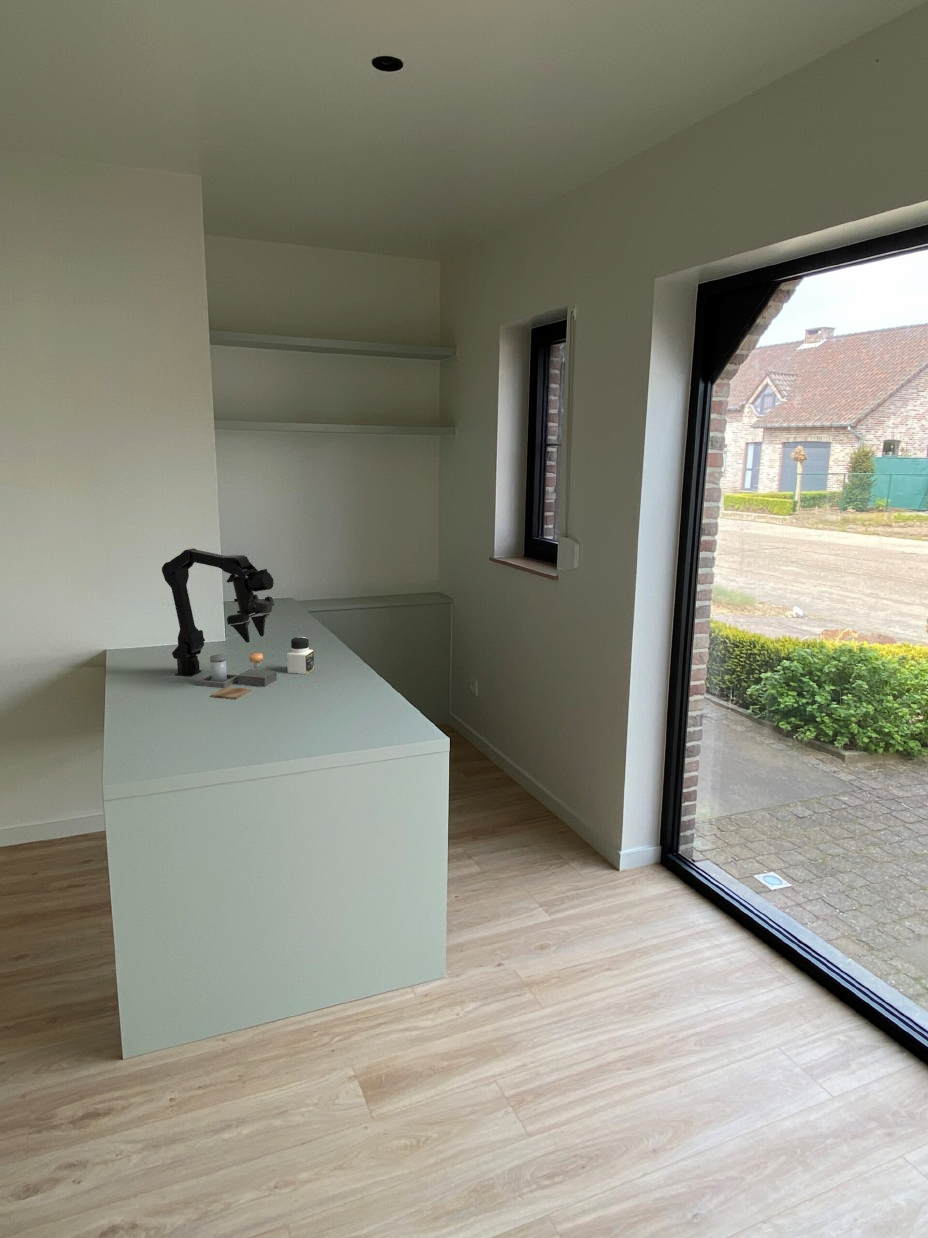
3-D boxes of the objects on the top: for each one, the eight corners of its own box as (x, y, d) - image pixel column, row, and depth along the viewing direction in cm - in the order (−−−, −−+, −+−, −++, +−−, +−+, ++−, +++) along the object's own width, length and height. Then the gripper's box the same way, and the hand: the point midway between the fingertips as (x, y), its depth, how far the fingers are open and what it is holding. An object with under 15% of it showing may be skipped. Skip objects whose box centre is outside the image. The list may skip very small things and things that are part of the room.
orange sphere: (247, 668, 266) (246, 655, 265) (254, 665, 270) (253, 652, 269) (259, 669, 265) (258, 656, 264) (266, 666, 269) (265, 653, 268)
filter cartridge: (208, 683, 266) (207, 657, 264) (217, 679, 271) (215, 653, 269) (222, 685, 265) (220, 658, 263) (230, 680, 270) (228, 655, 268)
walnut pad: (210, 696, 253) (210, 694, 253) (226, 688, 261) (226, 686, 261) (236, 699, 250) (235, 697, 250) (250, 690, 259) (250, 689, 259)
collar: (197, 685, 265) (197, 680, 264) (214, 676, 274) (214, 672, 274) (224, 687, 262) (224, 683, 262) (240, 679, 271) (240, 675, 271)
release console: (238, 683, 266) (237, 675, 266) (250, 677, 274) (250, 668, 273) (264, 686, 264) (264, 677, 263) (276, 679, 271) (276, 671, 270)
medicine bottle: (306, 674, 278) (305, 641, 275) (287, 673, 279) (285, 639, 276) (314, 668, 284) (313, 636, 282) (295, 667, 286) (294, 635, 283)
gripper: (251, 594, 252) (262, 642, 255) (279, 585, 270) (289, 630, 272) (220, 599, 256) (232, 646, 258) (251, 590, 273) (261, 634, 275)
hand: (255, 639), depth 266 cm, fingers open, 9 cm apart
